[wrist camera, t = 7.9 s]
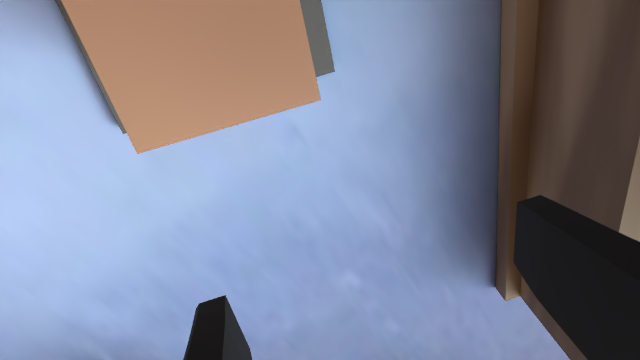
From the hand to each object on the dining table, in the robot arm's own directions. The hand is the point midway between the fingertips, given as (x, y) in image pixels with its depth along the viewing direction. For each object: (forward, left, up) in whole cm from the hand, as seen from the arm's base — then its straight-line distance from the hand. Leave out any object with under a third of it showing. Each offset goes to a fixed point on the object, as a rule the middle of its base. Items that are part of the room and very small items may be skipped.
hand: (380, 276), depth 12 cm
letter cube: (+2, -6, -9) cm, 11 cm away
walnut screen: (-10, +5, -9) cm, 14 cm away
